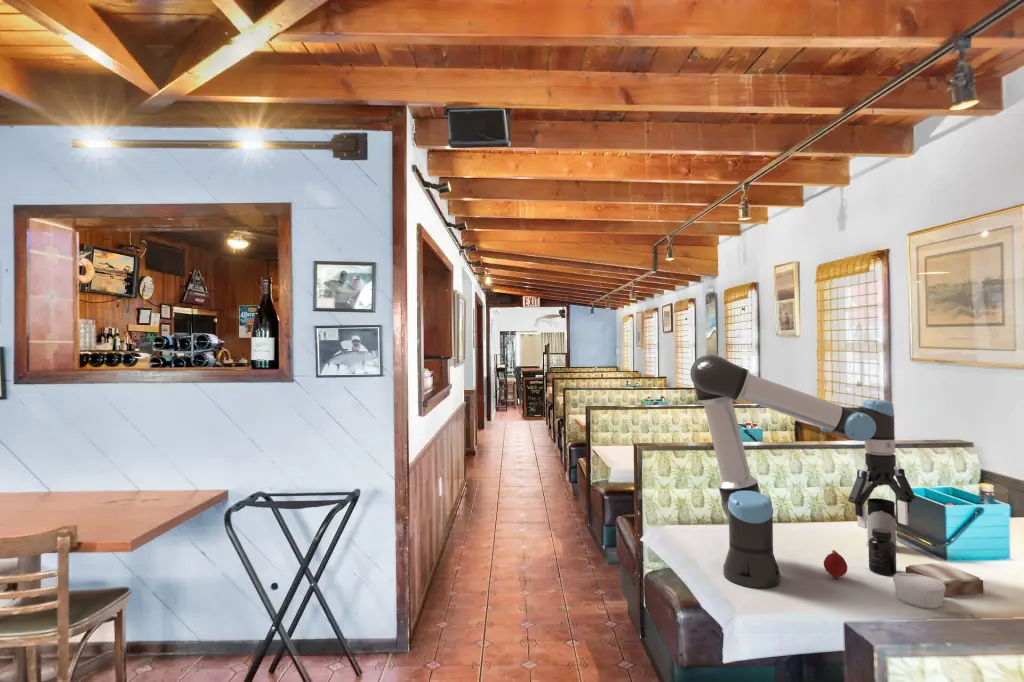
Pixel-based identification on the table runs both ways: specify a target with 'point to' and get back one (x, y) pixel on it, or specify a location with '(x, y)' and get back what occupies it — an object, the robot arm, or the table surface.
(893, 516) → the glass holder
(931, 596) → the ramekin
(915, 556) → the table surface
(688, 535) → the table surface
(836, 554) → the onion
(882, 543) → the supplement bottle
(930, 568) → the plinth
